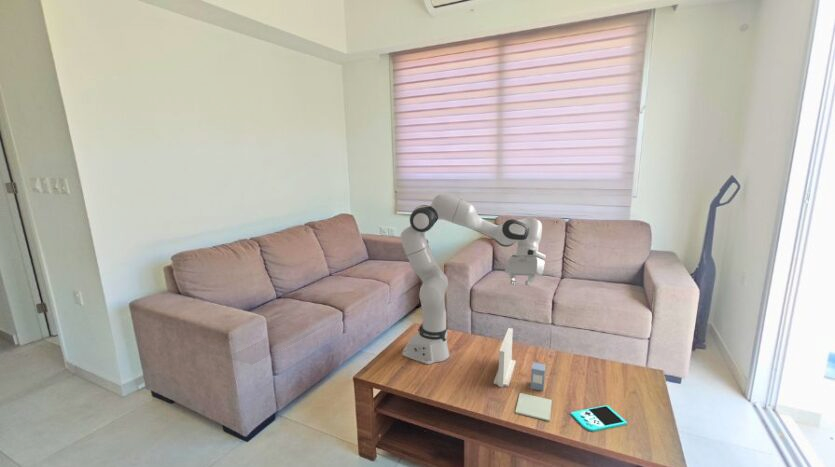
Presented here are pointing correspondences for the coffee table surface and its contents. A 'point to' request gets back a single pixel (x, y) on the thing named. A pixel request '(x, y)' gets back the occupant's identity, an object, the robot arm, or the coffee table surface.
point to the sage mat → (534, 406)
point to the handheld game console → (598, 418)
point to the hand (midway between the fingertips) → (519, 284)
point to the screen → (505, 361)
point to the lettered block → (538, 376)
